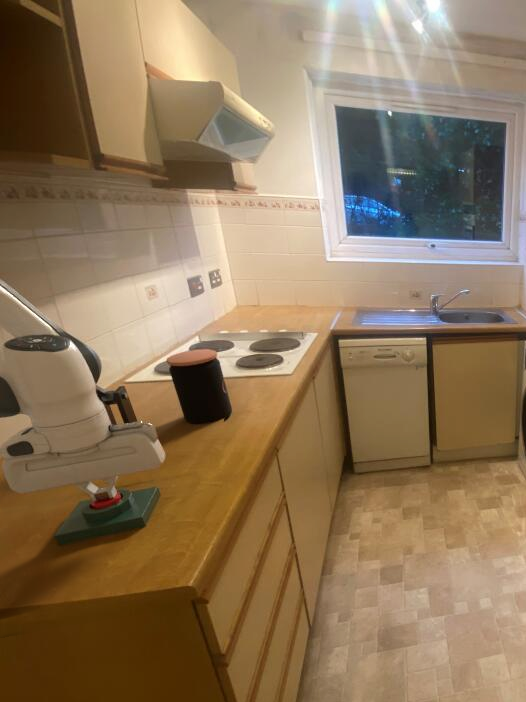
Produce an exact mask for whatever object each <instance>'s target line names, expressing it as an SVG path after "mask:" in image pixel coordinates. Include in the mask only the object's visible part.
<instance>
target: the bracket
mask: <svg viewBox="0 0 526 702" xmlns="http://www.w3.org/2000/svg"><path fill="white" fill-rule="evenodd" d="M101 388H102V389H104V388H103V387H101ZM113 391H114V392H113V396H114V398H115V401H116V403H117V404H116V406H117V409H118V411H119V414H120V416H121V419H122V422H123V423H133V422H136V421H138V419H137V416H136V413H135V410H134V408H133V405H132V402H131V400H130V397H129V394H128V390H127V388H126V386H125V385H120V386H118V387H117V388H116V389H115V390H113ZM96 394H97V393H96ZM97 397H98V398H99V400H100V401H101V396H100V395H98V394H97ZM101 402H102V401H101ZM102 403H103V402H102ZM103 404H104V406H105V409H106V411H107V414H108V416H109V419H110V421H111V424H112V425H116V424H118V422H117V420H116V418H115V415H114V413H113V410H112V407H111V405H107V404H105V403H103Z"/></svg>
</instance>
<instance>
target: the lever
mask: <svg viewBox="0 0 526 702" xmlns="http://www.w3.org/2000/svg"><path fill="white" fill-rule="evenodd" d="M102 388H103V387H101V386H99V385H97V384H96V393H97V394H98V395H100V396H101V401H102V402H103V403H105V404H107V405H110V406H112V405H117V403H116V401H115V398H114V396H113V392H114V391H115V390H105V389H104V388H103V389H102Z"/></svg>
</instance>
